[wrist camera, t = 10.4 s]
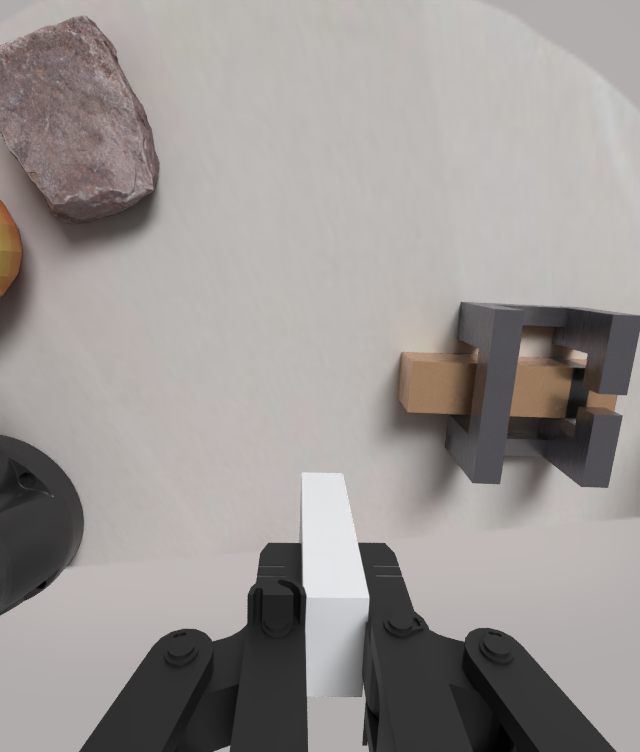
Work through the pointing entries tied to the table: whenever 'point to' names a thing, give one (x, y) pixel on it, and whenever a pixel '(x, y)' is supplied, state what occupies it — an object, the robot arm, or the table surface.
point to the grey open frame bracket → (555, 435)
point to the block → (530, 395)
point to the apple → (8, 249)
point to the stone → (75, 121)
